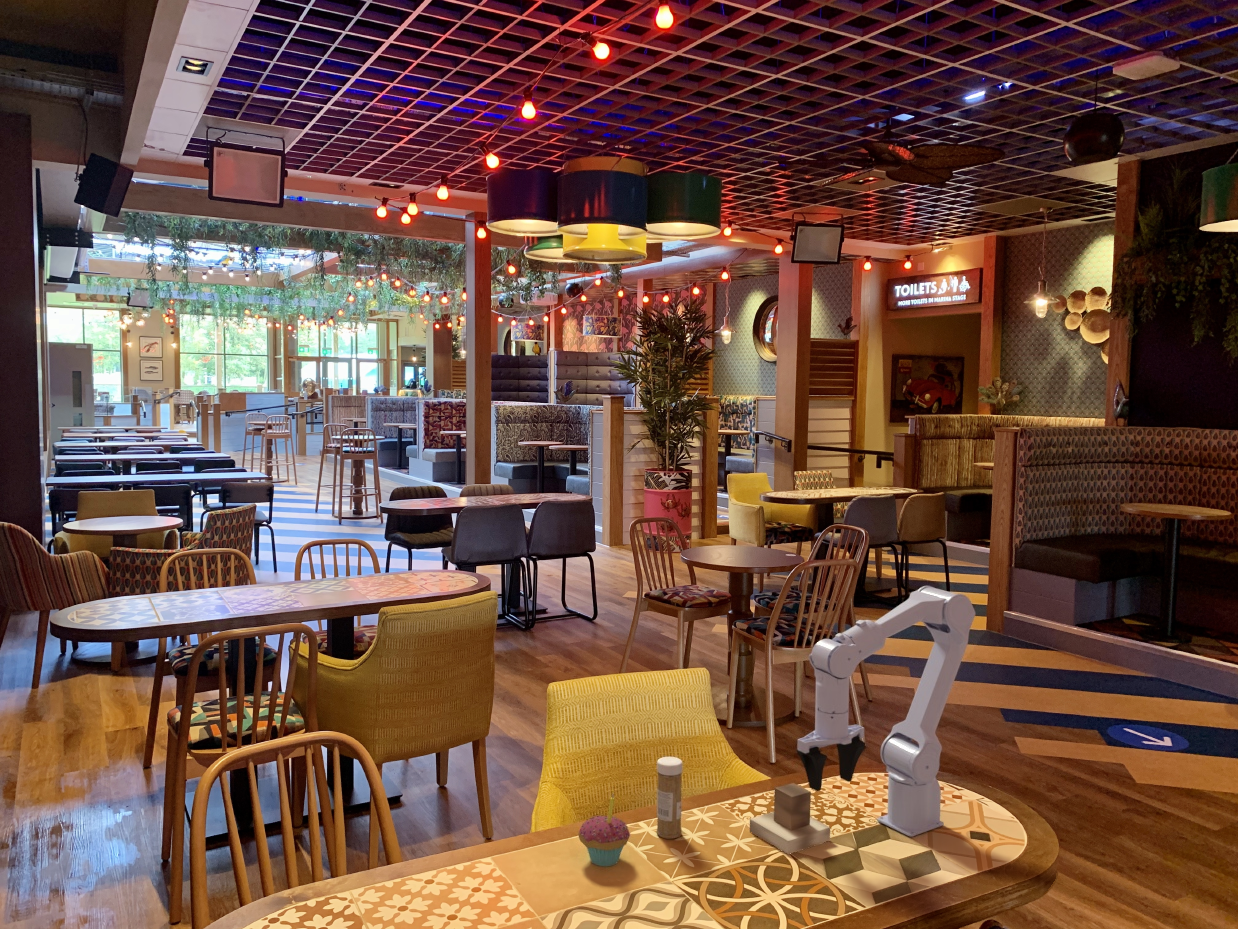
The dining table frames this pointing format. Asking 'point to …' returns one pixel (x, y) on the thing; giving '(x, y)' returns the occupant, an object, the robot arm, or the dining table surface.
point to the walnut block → (792, 806)
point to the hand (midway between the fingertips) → (830, 784)
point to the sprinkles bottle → (669, 797)
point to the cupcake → (604, 837)
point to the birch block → (789, 833)
